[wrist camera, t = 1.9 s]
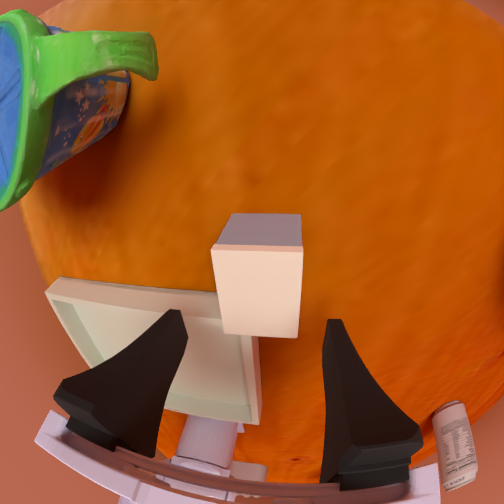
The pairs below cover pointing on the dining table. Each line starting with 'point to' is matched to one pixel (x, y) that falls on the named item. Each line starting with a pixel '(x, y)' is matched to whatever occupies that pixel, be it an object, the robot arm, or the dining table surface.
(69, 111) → the snack cup
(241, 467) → the lumpy-topped squat cylinder
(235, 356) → the white square tray
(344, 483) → the robot arm
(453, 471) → the energy drink can
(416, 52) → the dining table surface
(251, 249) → the pale pink block
